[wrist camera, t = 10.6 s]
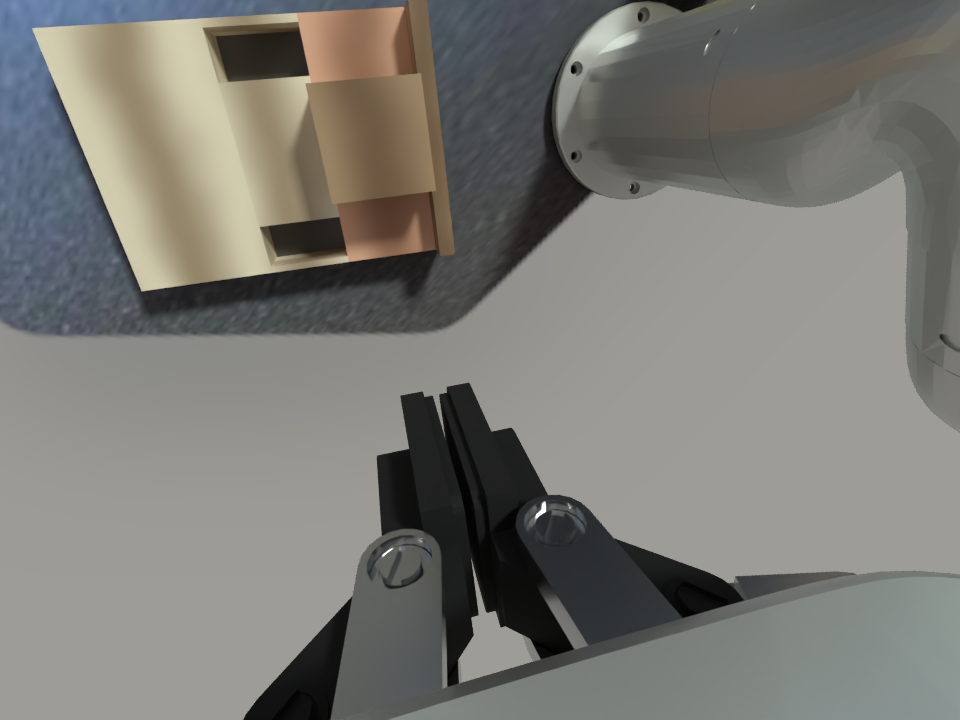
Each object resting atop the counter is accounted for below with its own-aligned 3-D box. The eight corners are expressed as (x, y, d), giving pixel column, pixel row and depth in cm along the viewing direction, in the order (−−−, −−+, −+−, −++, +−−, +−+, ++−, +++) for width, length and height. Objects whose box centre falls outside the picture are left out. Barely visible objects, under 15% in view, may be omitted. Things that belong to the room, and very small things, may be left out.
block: (413, 79, 29) (421, 73, 26) (427, 184, 32) (436, 190, 29) (311, 89, 28) (305, 83, 25) (334, 195, 31) (332, 204, 28)
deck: (416, 16, 31) (426, -3, 26) (443, 239, 37) (455, 254, 32) (63, 38, 27) (6, 20, 23) (158, 278, 34) (128, 301, 29)
